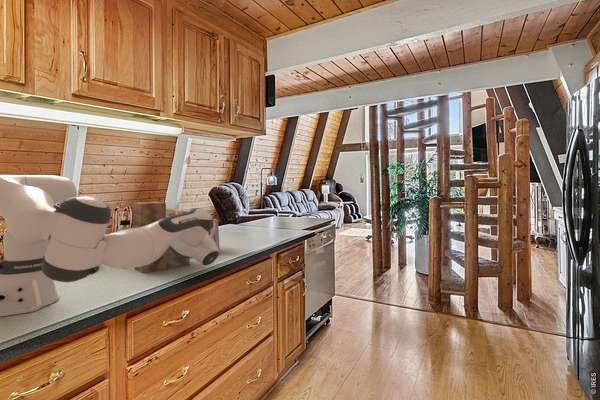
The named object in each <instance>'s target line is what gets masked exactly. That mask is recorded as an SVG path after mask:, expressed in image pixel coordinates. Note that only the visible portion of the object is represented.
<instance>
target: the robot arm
mask: <svg viewBox="0 0 600 400" xmlns="http://www.w3.org/2000/svg"><path fill="white" fill-rule="evenodd" d="M188 211H189V212H186V213H181V214H180V213H179V212H175V215H172V216H166V217H165V218H163V219H160V220H159V221H156V222H154V223H152V224H149V225H146V226H143V227H139V228H133V227H131V228H130V229H125V230H120V231H118V230H117V231H114V232H111V233H106V231H107V227H108V224H109V223H110V222H111V217H112V216H111V215H112V210H111V208H110V206H109V205H108V204H107V203H105V202H103V201H102V200H101V199H98V198H96V197H92V196H87V195H85V196H82V195H78V189H77V187H76V185H75V183H74V181H72V180H71V179H70V178H69V177H65V176H59V175H53V174H0V217H3V220H4V224H5V226H6V229H7V230H5V232H4V233H3V236H2V242H3V243H2V244H3V259H0V317H5V316H6V317H7V316H14V315H19V314H25V313H32V312H36V311H38V310H40V309H41V308H44V307H46V306H48V305H51V304H53V303H55V302H57V301H58V300H59V299H60V296H59V293H58V291H57V289H56V284H55V281H56V282H60V283H74V282H77V281H81V280H83V279H85V278H87V277H88V276H90V275H94V274H96V273H98V271H99V270H100V266H105V267H108V268H110V269H116V270H117V269H119V270H120V269H122V270H123V269H124V270H125V269H135V267H140V266H145V265H148V264H150V263H152V262H154V261H156V260H157V259H159V258H160V257H161V256H162V255H163V254H164V252H165V251H166V250H167V249H168V248H170V250H171V251H172V253H173V254H175V255H176V256H178V257H181V258H190V259H191V258H192V259H193V260H195V261H197V262H198V263H199V264H201V265H202V266H209V265H212V264H213V263H214V262H215V261H216V260H217V259H218V258H219V255H220V252H219V250H218V247H217V245H216V243H215V242H214V240H213V239H212V237H213V234H214V232H215V228H216V224H215V223H214V220H213V219H214V217H213V215H212V214H211V213H210V212H209V211H207V210H206V209H204V208H201V207H196V208H195V207H194V208H191V209H189V210H188Z"/></svg>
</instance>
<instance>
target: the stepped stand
mask: <svg viewBox="0 0 600 400" xmlns="http://www.w3.org/2000/svg"><path fill="white" fill-rule="evenodd" d="M166 208H167V203H166V202H162V201H141V202H140V201H139V202H132V222H133V227H132V228H139V227H143V226H146V225H149V224H152V223H154V222H156V221H159V220H160V219H163V218H165V217H167V215H166ZM190 263H191V258H181V257H178V256H176V255H175V254H173V253H172V251H171V250H170V248H168V249H167V250H166V251H165V252H164V254H163V255H162V256H161V257H160V258H159V259H157V260H156V261H154V262H152V263H150V264H148V265H145V266H140V267H135V268H134V269H135V270H137V271H138V272H139V273H142V274H146V273H150V272H151V273H152V272H156V271H157V272H158V271H162V270H168V269H174V268H179V267H180V268H181V267H184V266H185V267H186V266H190V265H191V264H190Z"/></svg>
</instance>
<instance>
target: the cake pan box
mask: <svg viewBox="0 0 600 400" xmlns="http://www.w3.org/2000/svg"><path fill="white" fill-rule="evenodd" d="M213 220H214V223H215V224H216V228H215V232H214V234H213V237H212V239H213V240H214V242H215V243H216V245H217V247H218V250H219V253H220V252H221V251H220V238H219V237H220V235H219V231H220V229H219V219H218V218H213Z"/></svg>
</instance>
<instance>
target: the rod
mask: <svg viewBox="0 0 600 400" xmlns="http://www.w3.org/2000/svg"><path fill="white" fill-rule="evenodd" d="M189 211H190V210H185V209H179V208H175V207H174V208H172V207H166V217H168V216H172V215H175V212H179V213H180V214H181V213H186V212H189Z"/></svg>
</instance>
